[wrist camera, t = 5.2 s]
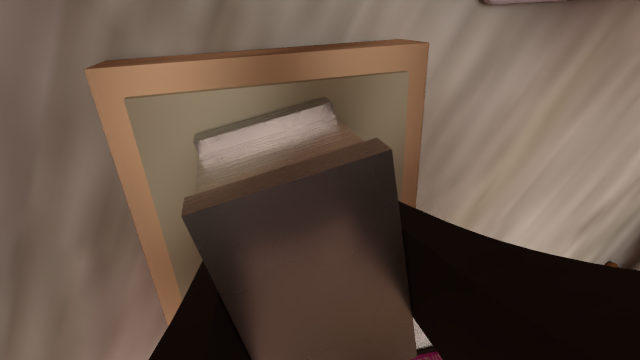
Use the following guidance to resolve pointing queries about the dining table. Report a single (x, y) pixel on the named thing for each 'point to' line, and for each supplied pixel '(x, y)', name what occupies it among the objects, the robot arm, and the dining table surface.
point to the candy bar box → (428, 355)
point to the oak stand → (237, 105)
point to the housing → (303, 236)
